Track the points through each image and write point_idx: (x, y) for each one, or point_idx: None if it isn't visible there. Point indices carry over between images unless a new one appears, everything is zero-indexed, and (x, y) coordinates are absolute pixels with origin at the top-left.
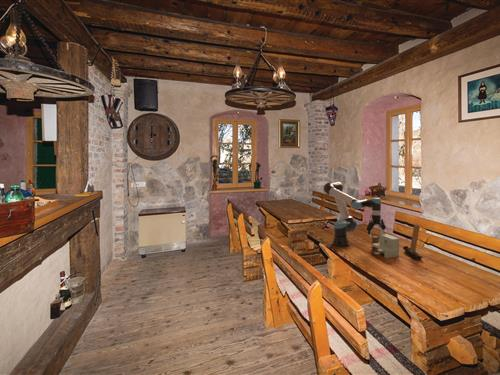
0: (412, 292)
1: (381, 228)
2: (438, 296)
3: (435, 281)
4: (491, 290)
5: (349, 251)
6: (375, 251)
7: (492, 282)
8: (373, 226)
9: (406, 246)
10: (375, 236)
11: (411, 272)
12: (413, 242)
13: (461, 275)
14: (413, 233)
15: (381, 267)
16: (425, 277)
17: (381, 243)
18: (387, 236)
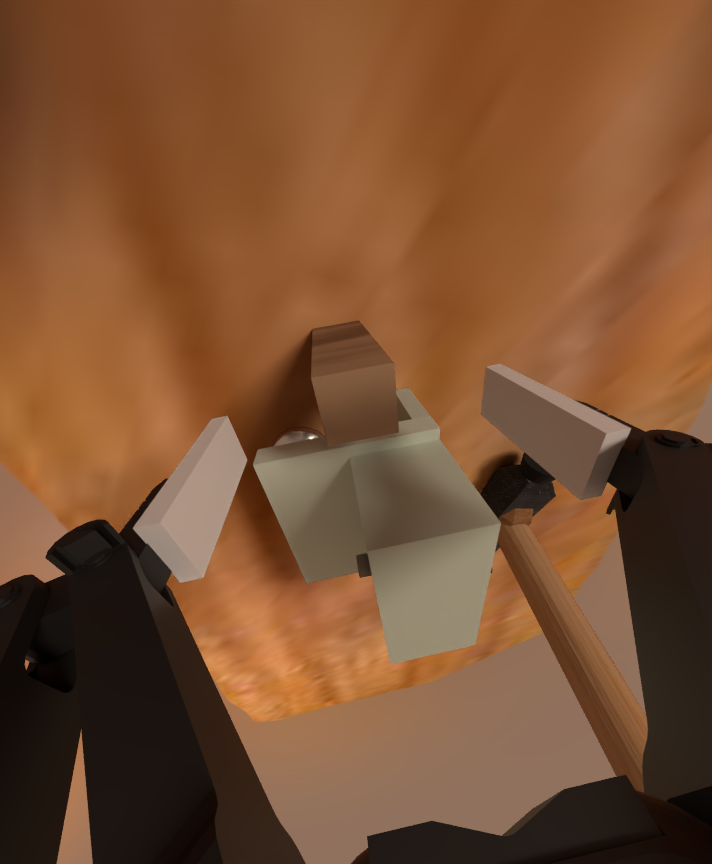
0: (243, 693)
1: (642, 438)
2: (300, 696)
3: (357, 657)
4: (448, 671)
5: (8, 357)
6: (290, 437)
7: (498, 650)
8: (242, 753)
9: (552, 478)
10: (370, 387)
11: (328, 625)
12: (537, 620)
13: None
14: (602, 737)
15: (220, 600)
16: (348, 644)
17: (354, 484)
18: (411, 609)
